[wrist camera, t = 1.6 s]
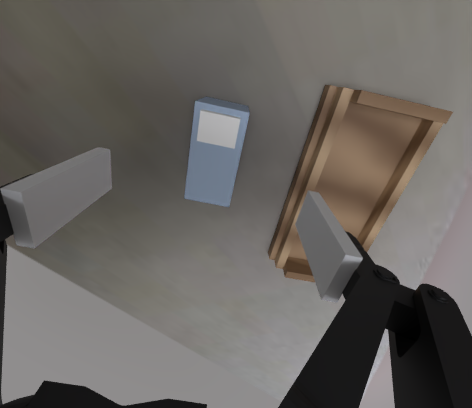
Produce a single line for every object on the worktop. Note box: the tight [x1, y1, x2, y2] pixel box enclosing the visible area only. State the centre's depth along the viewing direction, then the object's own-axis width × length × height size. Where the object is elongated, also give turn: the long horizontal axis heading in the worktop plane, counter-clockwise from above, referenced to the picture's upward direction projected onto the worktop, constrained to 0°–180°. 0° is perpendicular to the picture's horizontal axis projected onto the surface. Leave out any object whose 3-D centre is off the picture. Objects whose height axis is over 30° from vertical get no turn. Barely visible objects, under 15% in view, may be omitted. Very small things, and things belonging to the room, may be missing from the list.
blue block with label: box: [184, 97, 250, 207], centre depth 23 cm, size 9×4×8 cm, turn 168°
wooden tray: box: [268, 85, 453, 282], centre depth 27 cm, size 22×12×4 cm, turn 168°
